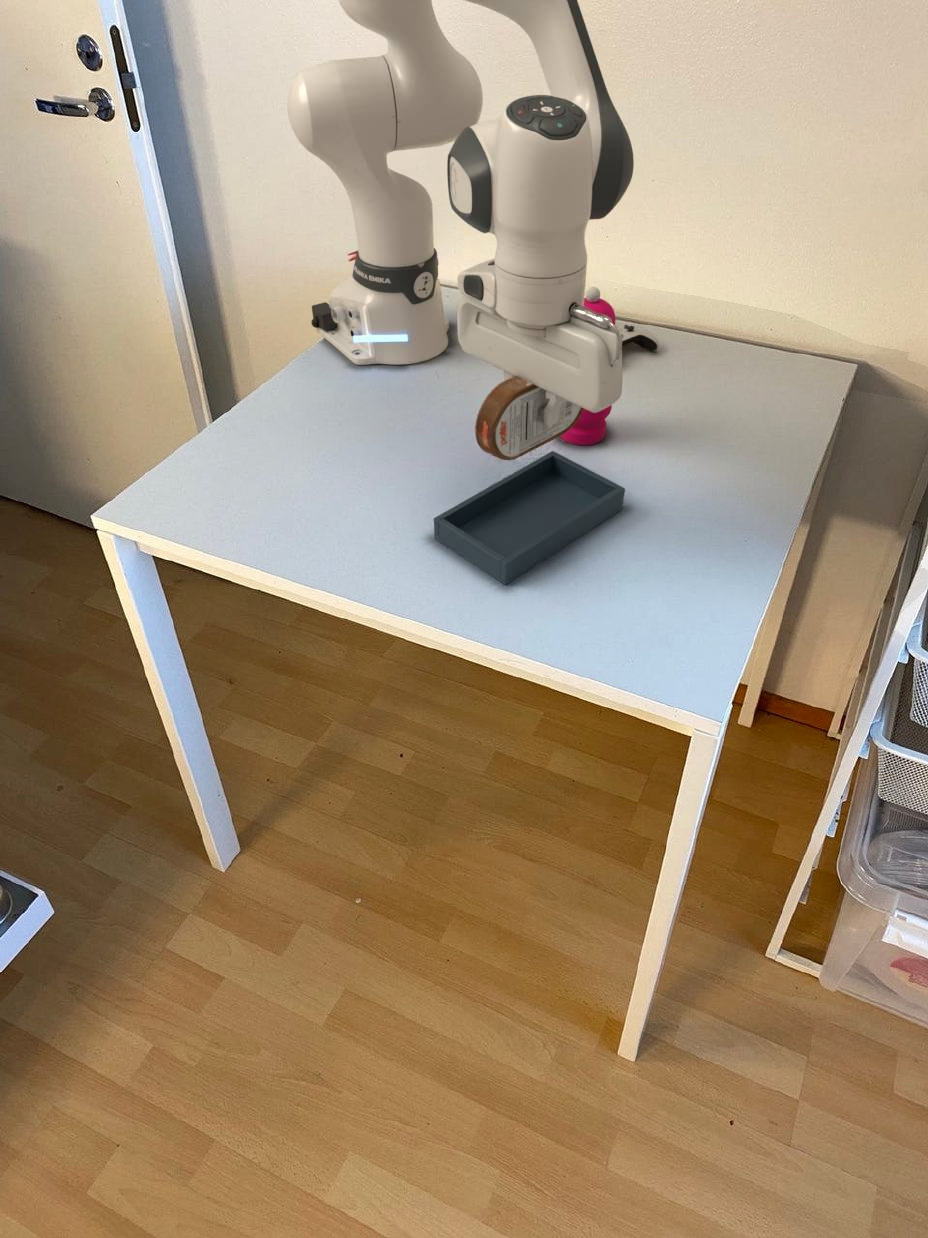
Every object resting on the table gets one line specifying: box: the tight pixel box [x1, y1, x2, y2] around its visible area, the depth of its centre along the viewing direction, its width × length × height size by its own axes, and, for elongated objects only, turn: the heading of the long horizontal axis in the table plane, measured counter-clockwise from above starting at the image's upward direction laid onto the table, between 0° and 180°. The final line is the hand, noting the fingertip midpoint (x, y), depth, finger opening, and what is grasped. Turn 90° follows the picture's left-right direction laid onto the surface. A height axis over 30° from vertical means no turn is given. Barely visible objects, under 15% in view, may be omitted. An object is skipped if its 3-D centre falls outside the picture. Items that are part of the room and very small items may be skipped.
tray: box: [433, 450, 626, 586], centre depth 107 cm, size 12×20×3 cm, turn 133°
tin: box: [474, 376, 584, 461], centre depth 97 cm, size 15×3×8 cm, turn 132°
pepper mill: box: [559, 286, 617, 446], centre depth 116 cm, size 7×7×20 cm
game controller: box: [616, 324, 659, 352], centre depth 139 cm, size 10×5×6 cm
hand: (534, 415), depth 98 cm, fingers closed on tin, 2 cm apart
